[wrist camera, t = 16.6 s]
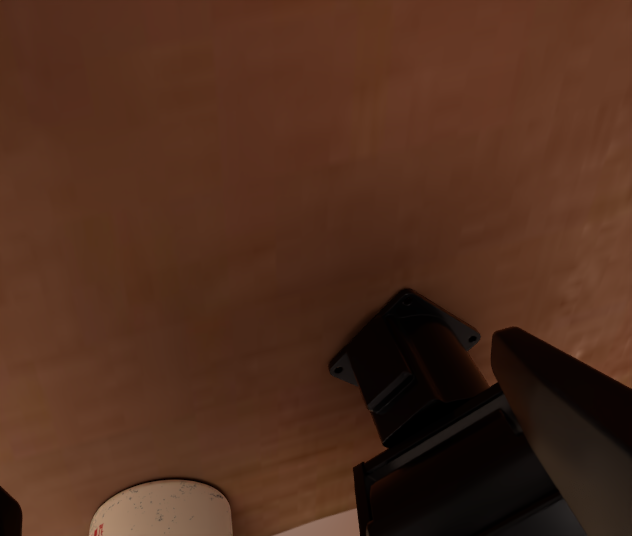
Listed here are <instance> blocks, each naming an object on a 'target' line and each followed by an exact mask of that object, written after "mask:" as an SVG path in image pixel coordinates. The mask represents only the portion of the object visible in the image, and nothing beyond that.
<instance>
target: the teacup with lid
mask: <svg viewBox="0 0 632 536" xmlns="http://www.w3.org/2000/svg"><path fill="white" fill-rule="evenodd" d="M89 536H233V531H232V519H231V510H230V505H229V503H228V501H227V499H226V498H225V497H224V495H223V494H221V493H220V492H219V491H218V490H216V489H215V488H213V487H211V486H208V485H206V484H203V483H199V482H195V481H189V480H160V481H153V482H148V483H144V484H140V485H137V486H134V487H132V488H129V489H127V490H124V491H122V492H120V493H118V494H116V495H115V496H113V497H112V498H110V499H109V500H108V501H106V502H105V503H104V504H103V505H102V506H101V507H100V508H99V509H98V510H97V512H96V513H95V515H94V517H93V519H92V522H91V525H90V531H89Z"/></svg>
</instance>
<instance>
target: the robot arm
mask: <svg viewBox="0 0 632 536" xmlns="http://www.w3.org/2000/svg"><path fill="white" fill-rule="evenodd" d="M408 297H409V299H407V300H405V299H406V298H408ZM480 338H481V336H480V334H479V332H478V331H477V330H476V329H475V328H474V327H472V326H470V325H469V324H467V323H466V322H464V321H462V320H461V319H459V318H457V317H456V316H454V315H453V314H451V313H449V312H448V311H446V310H444V309H443V308H441V307H440V306H438V305H436V304H435V303H433V302H431V301H430V300H428V299H427V298H425V297H423V296H422V295H420V294H418V293H417V292H415V291H414V290H412V289H404V290H402V291H400V292H399V293H398V294H397V295H396V296H395V297H394V298H393V299H392V300H391V301H390V302H389V303H388V304H387V305H386V306H385V307H384V308H383V309H382V310H381V311H380V312H379V313H378V314H377V315H376V316H375V317H374V318H373V319H372V320H371V321H370V322H369V323H368V324H367V325H366V326H365V327H364V328H363V329H362V330H361V331H360V332H359V333H358V334H357V335H356V336H355V337H354V338H353V339H352V340H351V341H350V342H349V344H348V345H347V346H346V347H345V348H344V349H343V350H342V351H341V352H340V353H339V354H338V355H337V356H336V357H335V358H334V359H333V360H332V361H331V362H330V363H329V365H328V368H329V371H330V374H331V375H332V376H334V377H337V378H339V379H341V380H344V381H346V382H348V383H351V384H353V385H355V386H358V387H359V389H360V392H361V394H362V397H363V400H364V402H365V405H366V408H367V409H368V410H370V413H371V415H372V418H373V421H374V423H375V426H376V429H377V431H378V434H379V437H380V439H381V442H382V444H383V446H384V447H387V448H388V449H387V450H385V451H384V452H382V453H380V454H379V455H377V456H375V457H374V458H372V459H370V460H369V461H367V462H365V463H364V462H362V463H360V464H358V465H357V466H355V467H353V473H354V482H355V486H354V487H355V495H356V504H357V513H358V521H359V529H360V536H632V389H631V388H629V387H627V386H625V385H623V384H622V383H620V382H618V381H616V380H614V379H612V378H611V377H609V376H607V375H605V374H603V373H601V372H600V371H598V370H596V369H594V368H592V367H590V366H588V365H587V364H585V363H583V362H581V361H579V360H577V359H576V358H574V357H572V356H570V355H568V354H566V353H565V352H563V351H561V350H559V349H557V348H555V347H554V346H552V345H550V344H548V343H546V342H544V341H543V340H541V339H539V338H537V337H535V336H533V335H532V334H530V333H528V332H526V331H524V330H522V329H520V328H518V327H508V328H505V329H502V330H498V331H496V332H494V334H493V336H492V348H491V367H492V370H493V373H494V375H495V377H496V379H497V381H498V382H497V383H496V384H494V385H492V386H491V387H490V386H489V385H488V383H487V382H486V380H485V378H484V377H483V375H482V374H481V372H480V371H479V369H478V368H477V366H476V365H475V363H474V362H473V360H472V358H471V357H470V355H469V354H468V352H467V351H468V350H470V349H471V348H472V347H473V346H474V345H475V344H476V343H477V342H478V341H479V340H480ZM337 367H339V368H337ZM0 536H22V510H21V507H20V505H19V503H18V502H17V501H16V500H15V499H14V498H13V497H12V496H10V495H9V494H8V493H7V492H6V491H5V490H4V489H3V488H2V487H1V486H0Z"/></svg>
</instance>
